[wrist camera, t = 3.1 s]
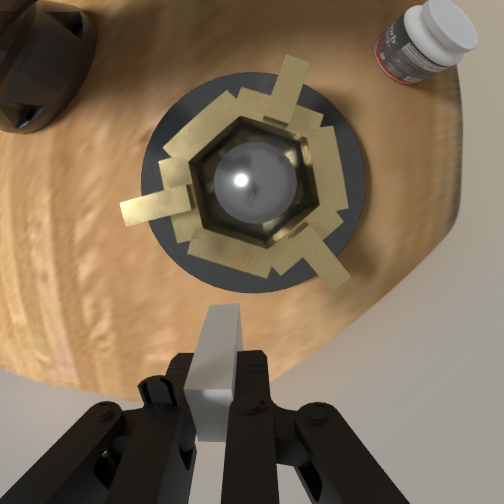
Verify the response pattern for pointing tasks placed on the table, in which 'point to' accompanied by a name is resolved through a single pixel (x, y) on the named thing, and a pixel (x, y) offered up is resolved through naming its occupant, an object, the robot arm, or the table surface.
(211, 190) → the hub plate
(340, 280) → the taped hex socket base
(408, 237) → the table surface
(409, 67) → the pill bottle
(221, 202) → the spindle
